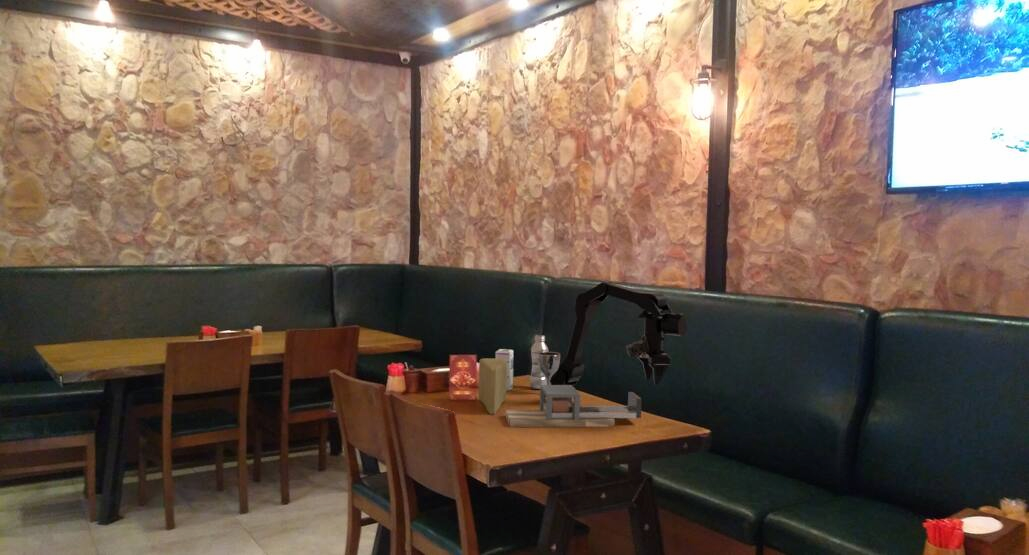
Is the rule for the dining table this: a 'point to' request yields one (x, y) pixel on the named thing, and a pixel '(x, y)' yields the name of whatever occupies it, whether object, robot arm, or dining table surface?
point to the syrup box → (508, 356)
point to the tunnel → (559, 391)
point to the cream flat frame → (553, 420)
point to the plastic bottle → (537, 374)
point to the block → (560, 404)
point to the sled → (632, 407)
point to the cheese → (492, 383)
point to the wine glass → (548, 363)
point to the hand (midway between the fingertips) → (652, 382)
